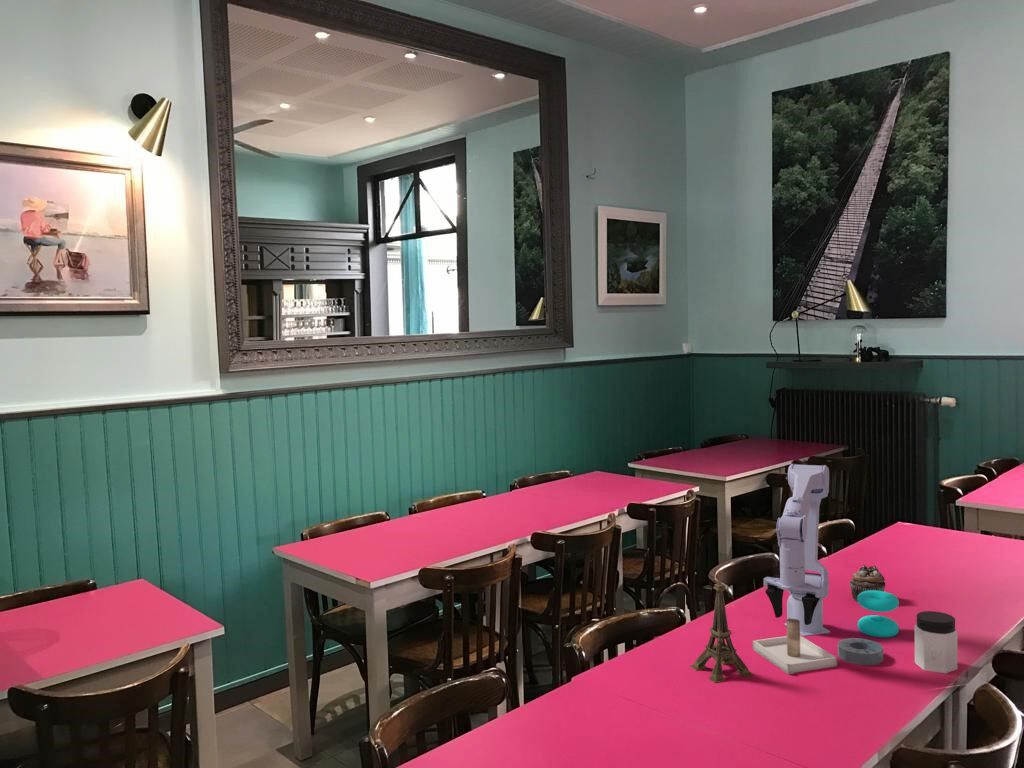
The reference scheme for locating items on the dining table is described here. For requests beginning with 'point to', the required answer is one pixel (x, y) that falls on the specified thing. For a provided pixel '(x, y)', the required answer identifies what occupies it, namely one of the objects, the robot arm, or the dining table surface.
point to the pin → (793, 637)
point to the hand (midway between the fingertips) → (793, 620)
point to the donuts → (875, 623)
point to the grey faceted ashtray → (860, 651)
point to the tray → (807, 660)
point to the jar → (936, 642)
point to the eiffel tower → (720, 643)
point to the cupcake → (866, 581)
